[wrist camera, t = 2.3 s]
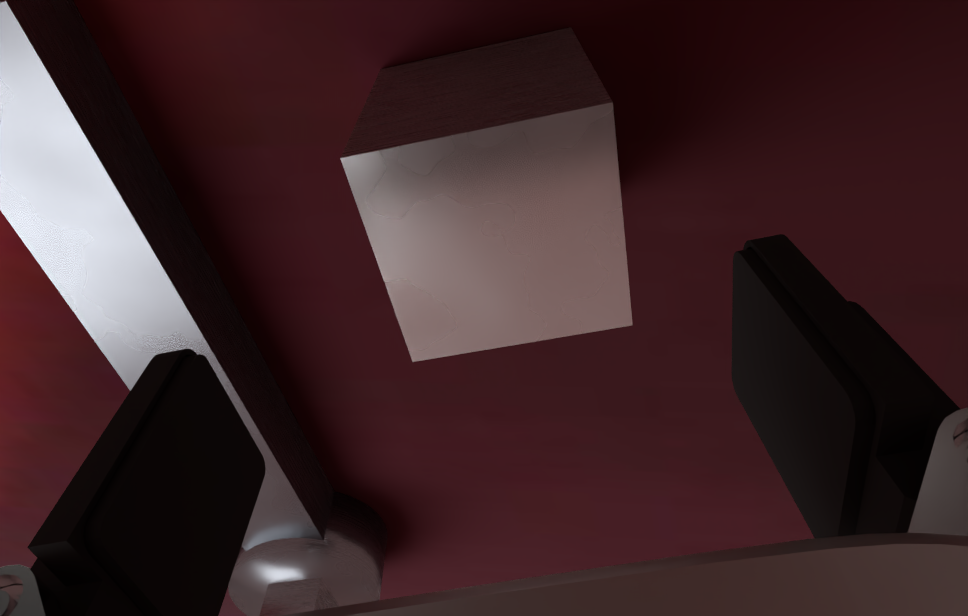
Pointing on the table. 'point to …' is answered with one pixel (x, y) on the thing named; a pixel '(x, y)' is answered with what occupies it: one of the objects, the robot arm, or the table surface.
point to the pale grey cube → (493, 196)
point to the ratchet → (162, 297)
